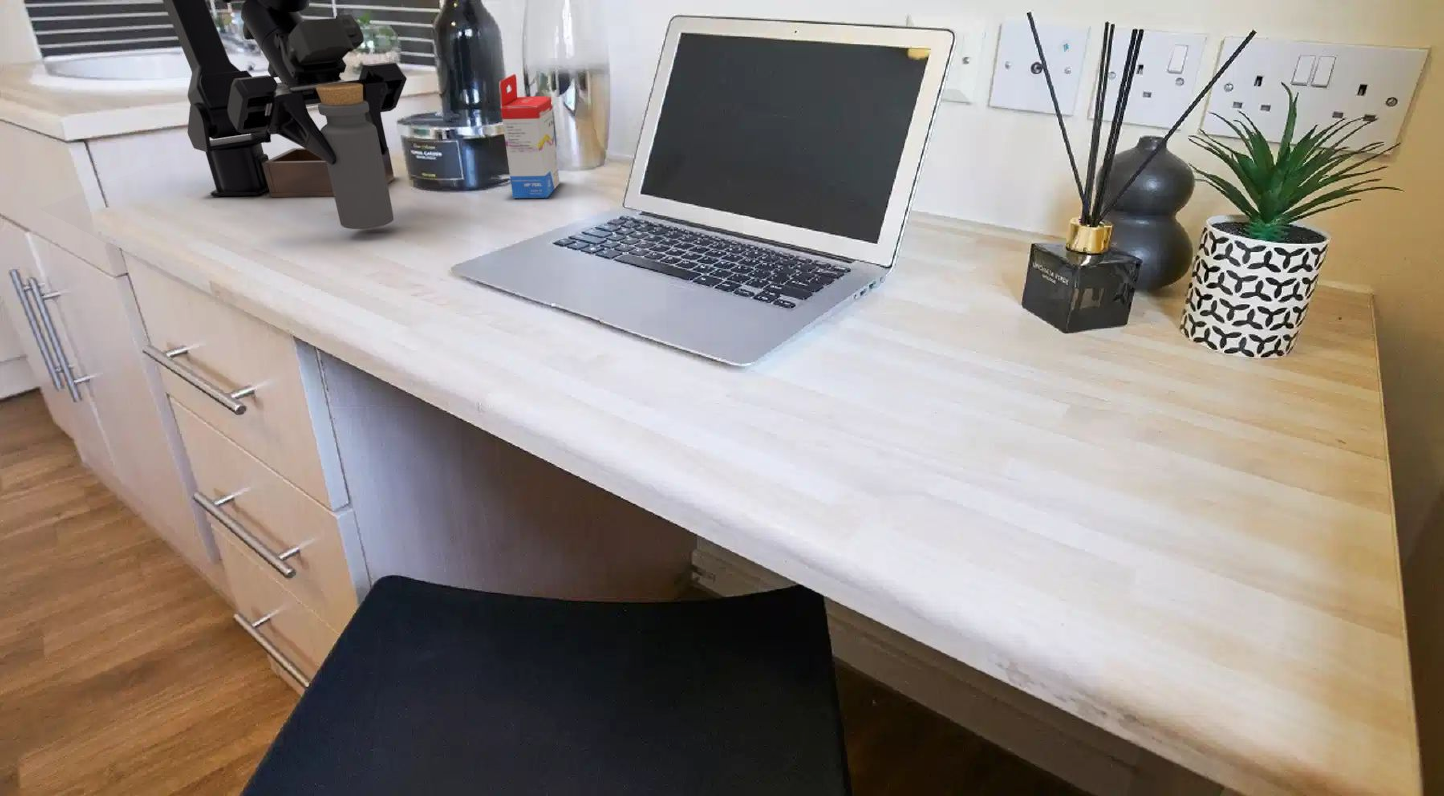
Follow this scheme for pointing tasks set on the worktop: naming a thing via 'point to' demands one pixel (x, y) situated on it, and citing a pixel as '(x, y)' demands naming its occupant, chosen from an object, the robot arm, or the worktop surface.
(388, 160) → the crate
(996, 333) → the worktop surface
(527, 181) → the ink box
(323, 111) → the bottle
